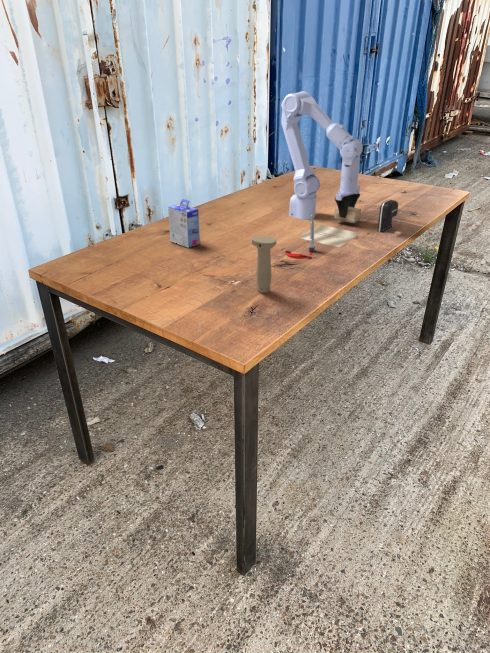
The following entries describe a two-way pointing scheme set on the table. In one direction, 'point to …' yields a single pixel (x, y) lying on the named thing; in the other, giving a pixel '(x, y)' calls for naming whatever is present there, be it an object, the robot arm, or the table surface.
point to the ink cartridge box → (184, 224)
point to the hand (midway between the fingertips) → (346, 215)
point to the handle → (264, 261)
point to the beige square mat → (330, 235)
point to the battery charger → (387, 215)
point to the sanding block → (349, 215)
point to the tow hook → (312, 243)
